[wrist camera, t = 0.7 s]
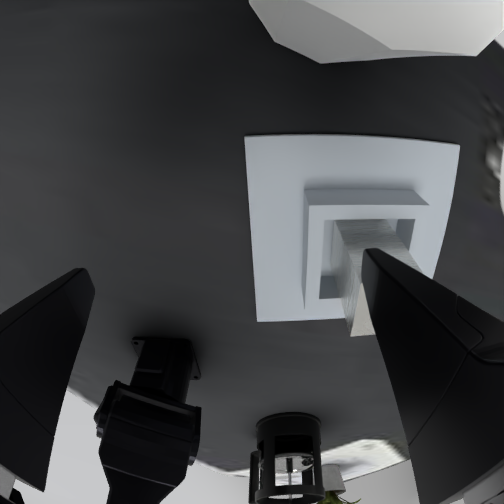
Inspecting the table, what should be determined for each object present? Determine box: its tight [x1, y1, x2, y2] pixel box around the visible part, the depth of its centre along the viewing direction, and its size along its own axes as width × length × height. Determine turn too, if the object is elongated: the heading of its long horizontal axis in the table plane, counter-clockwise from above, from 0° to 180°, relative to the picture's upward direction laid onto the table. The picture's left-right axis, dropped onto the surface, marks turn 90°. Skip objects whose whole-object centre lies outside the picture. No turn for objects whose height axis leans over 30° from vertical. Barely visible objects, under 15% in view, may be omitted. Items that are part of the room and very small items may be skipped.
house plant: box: [313, 464, 361, 504], centre depth 45 cm, size 14×14×16 cm
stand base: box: [244, 134, 460, 322], centre depth 22 cm, size 16×16×4 cm
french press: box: [249, 412, 325, 504], centre depth 30 cm, size 12×9×23 cm
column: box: [330, 219, 423, 336], centre depth 20 cm, size 5×4×8 cm
